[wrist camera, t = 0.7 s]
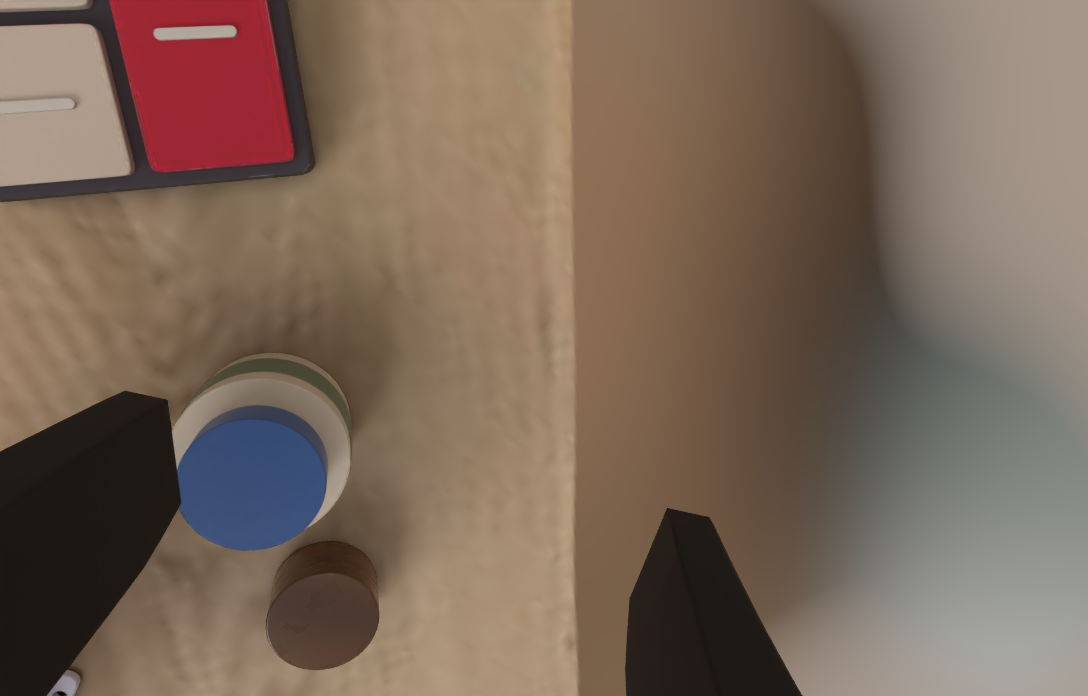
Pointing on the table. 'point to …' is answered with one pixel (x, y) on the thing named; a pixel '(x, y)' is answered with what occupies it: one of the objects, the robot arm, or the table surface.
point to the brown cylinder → (323, 606)
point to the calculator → (147, 95)
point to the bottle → (262, 451)
